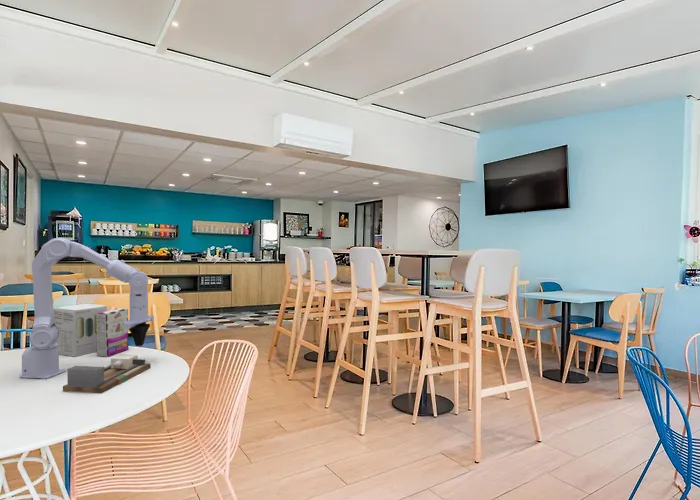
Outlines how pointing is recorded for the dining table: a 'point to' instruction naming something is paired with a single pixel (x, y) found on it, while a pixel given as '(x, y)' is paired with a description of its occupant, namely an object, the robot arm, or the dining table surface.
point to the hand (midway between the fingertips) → (139, 345)
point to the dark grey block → (85, 376)
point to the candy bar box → (111, 332)
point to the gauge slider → (126, 361)
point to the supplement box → (77, 328)
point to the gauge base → (111, 378)
